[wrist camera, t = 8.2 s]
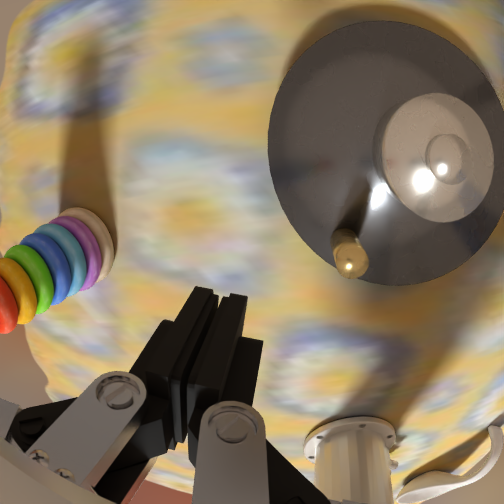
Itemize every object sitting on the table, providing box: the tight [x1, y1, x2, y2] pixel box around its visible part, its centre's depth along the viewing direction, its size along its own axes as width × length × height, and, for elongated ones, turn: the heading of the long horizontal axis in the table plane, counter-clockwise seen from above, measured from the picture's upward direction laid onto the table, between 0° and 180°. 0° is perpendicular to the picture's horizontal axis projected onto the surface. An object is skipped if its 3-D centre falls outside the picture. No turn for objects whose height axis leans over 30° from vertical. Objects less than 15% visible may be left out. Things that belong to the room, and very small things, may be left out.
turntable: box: [268, 21, 504, 285], centre depth 17 cm, size 20×20×6 cm
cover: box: [372, 93, 494, 222], centre depth 16 cm, size 8×8×4 cm
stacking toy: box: [0, 207, 114, 334], centre depth 19 cm, size 8×8×19 cm
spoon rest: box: [396, 425, 503, 504], centre depth 32 cm, size 24×12×7 cm, turn 154°
